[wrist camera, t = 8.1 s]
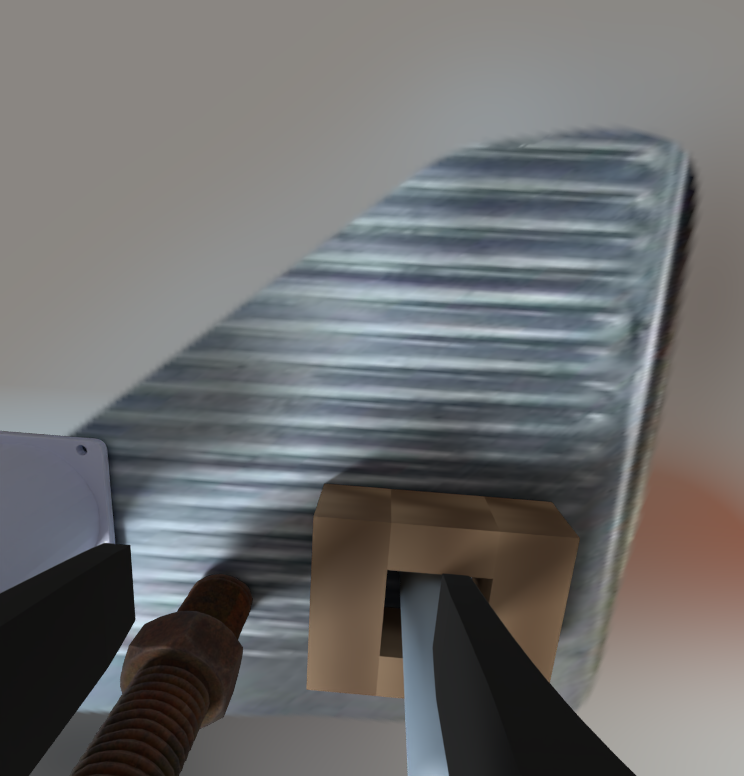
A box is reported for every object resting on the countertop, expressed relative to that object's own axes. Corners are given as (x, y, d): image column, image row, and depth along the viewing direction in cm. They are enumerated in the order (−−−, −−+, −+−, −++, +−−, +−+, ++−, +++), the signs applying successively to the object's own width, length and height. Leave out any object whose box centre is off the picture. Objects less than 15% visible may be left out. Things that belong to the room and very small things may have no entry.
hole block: (317, 637, 22) (306, 689, 19) (324, 483, 20) (313, 516, 17) (523, 655, 22) (543, 711, 19) (551, 501, 20) (579, 538, 17)
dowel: (399, 594, 21) (408, 825, 12) (398, 543, 21) (408, 747, 11) (457, 595, 21) (511, 828, 12) (459, 543, 21) (517, 749, 11)
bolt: (185, 535, 21) (-270, 1084, 6) (282, 558, 21) (46, 1151, 7) (170, 626, 22) (-234, 1252, 8) (261, 648, 23) (27, 1306, 8)
